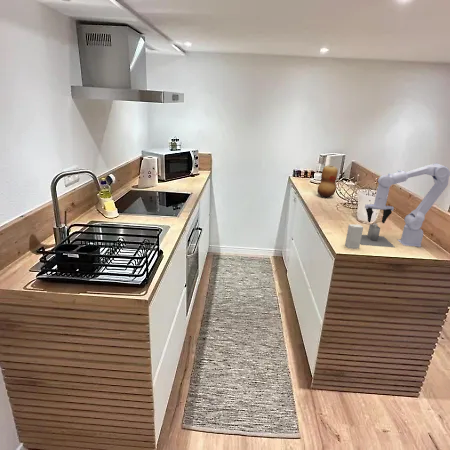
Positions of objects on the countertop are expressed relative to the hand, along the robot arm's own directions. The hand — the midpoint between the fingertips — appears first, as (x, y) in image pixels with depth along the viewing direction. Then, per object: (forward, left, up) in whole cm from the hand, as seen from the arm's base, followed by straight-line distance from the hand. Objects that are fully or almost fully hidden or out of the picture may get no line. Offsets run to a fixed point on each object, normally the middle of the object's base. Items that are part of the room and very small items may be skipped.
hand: (375, 222), depth 189 cm
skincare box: (+16, +15, -10) cm, 24 cm away
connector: (0, 0, -10) cm, 10 cm away
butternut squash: (+4, -91, -10) cm, 92 cm away
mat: (+1, +3, -10) cm, 10 cm away
